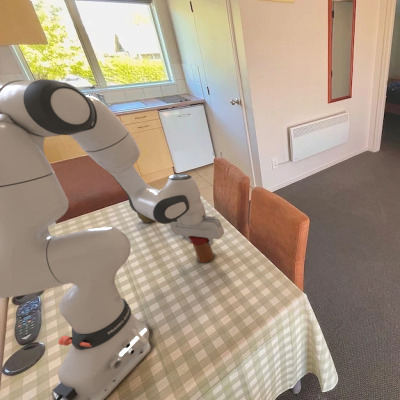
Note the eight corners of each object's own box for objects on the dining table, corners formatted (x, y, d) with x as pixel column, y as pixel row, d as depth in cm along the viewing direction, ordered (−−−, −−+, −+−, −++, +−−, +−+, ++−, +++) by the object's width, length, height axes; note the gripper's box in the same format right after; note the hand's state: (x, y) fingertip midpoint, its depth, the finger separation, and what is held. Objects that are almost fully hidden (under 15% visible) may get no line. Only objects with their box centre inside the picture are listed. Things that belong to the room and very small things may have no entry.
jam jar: (208, 263, 105) (202, 242, 100) (195, 261, 106) (187, 241, 101) (216, 253, 110) (210, 233, 105) (203, 251, 111) (196, 231, 106)
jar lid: (212, 235, 106) (211, 231, 105) (203, 246, 100) (201, 242, 99) (197, 233, 107) (196, 229, 106) (187, 244, 101) (186, 240, 100)
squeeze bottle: (153, 224, 129) (139, 192, 120) (137, 224, 129) (122, 192, 120) (162, 215, 136) (150, 183, 127) (146, 215, 136) (133, 184, 127)
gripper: (222, 212, 99) (230, 241, 106) (174, 207, 102) (184, 235, 109) (213, 222, 93) (222, 251, 101) (162, 217, 97) (174, 245, 104)
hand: (202, 243), depth 105 cm, fingers open, 6 cm apart
